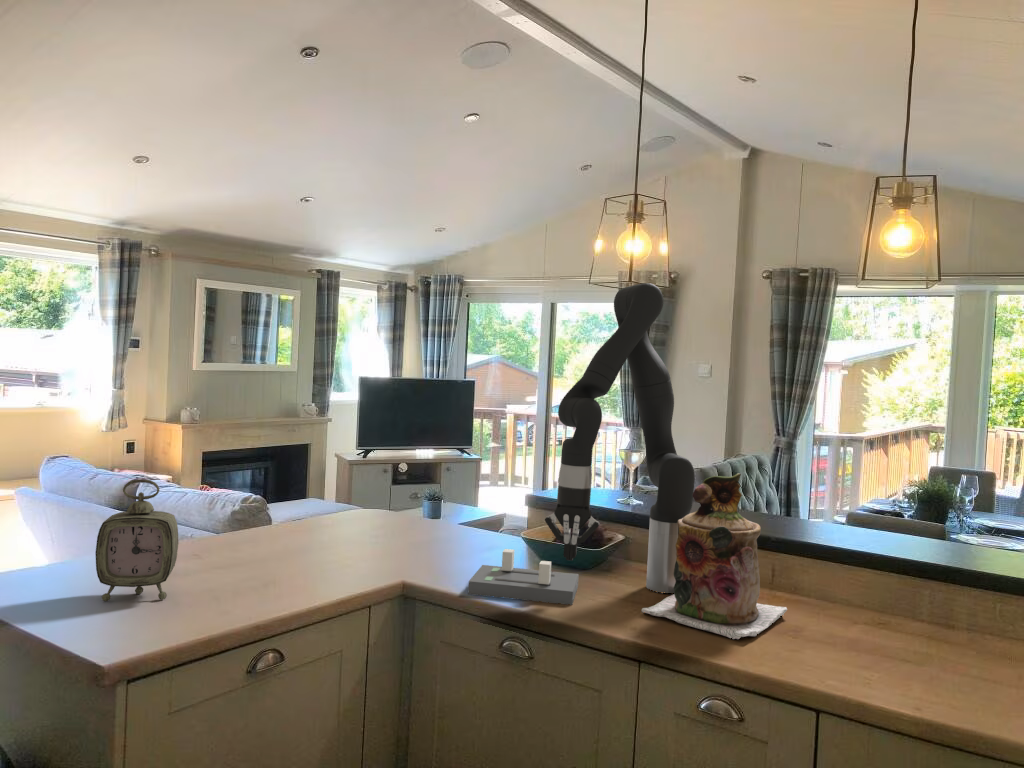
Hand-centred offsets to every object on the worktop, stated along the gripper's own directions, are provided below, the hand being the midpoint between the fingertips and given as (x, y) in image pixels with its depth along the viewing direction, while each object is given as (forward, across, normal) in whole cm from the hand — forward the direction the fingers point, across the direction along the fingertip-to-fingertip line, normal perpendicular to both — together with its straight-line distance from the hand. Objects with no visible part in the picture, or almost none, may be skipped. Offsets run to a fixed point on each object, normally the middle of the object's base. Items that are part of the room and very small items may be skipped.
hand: (569, 559), depth 170 cm
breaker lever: (+6, +16, -8) cm, 18 cm away
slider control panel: (+9, +10, -4) cm, 15 cm away
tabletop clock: (+11, +88, +30) cm, 93 cm away
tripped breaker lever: (+6, +5, 0) cm, 8 cm away
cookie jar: (+9, -33, 0) cm, 34 cm away
